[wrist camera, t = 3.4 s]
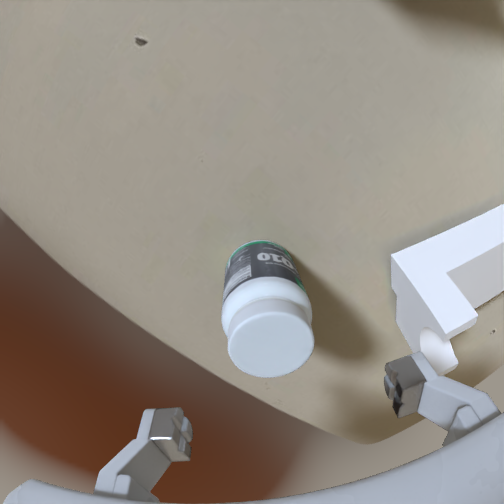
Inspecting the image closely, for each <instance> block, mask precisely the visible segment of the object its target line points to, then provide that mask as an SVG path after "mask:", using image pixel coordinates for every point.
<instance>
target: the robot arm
mask: <svg viewBox="0 0 504 504" xmlns="http://www.w3.org/2000/svg"><path fill="white" fill-rule="evenodd" d="M385 371H386V373H387V375H386V376H385V377H384V386H385V391H386V394H387V396H388V398H389V399H391V400H393V406H392V407H393V409H394V411H395V413H396V415H397V417H398V418H401V417H404V416H406V415H409V414H412V413H414V412H417V413H419V414H421V415H422V416H424V417H425V418H427V419H429V420H430V421H432V422H433V423H435V424H437V425H438V426H440V427H442V428H443V429H445V430H447V431H448V434H447V436H446V438H445V440H444V442H443V444H442V445H443V447H442V448H440V449H438V450H436V451H434V452H432V453H430V454H427V455H425V456H423V457H420V458H418V459H416V460H413V461H411V462H409V463H406V464H404V465H401V466H398V467H396V468H393V469H390V470H388V471H385V472H382V473H379V474H376V475H373V476H370V477H367V478H364V479H360V480H357V481H354V482H350V483H347V484H343V485H339V486H335V487H331V488H327V489H323V490H318V491H314V492H309V493H304V494H299V495H293V496H287V497H281V498H274V499H266V500H257V501H248V502H235V503H218V504H504V412H503V413H502V414H501V412H500V411H499V410H498V408H497V406H496V405H495V404H494V402H493V401H492V399H491V398H490V397H489V395H488V394H487V393H485V392H483V391H480V390H478V389H475V388H473V387H470V386H467V385H465V384H462V383H460V382H457V381H455V380H452V379H450V378H448V377H445V376H443V375H442V376H438V374H437V373H436V371H435V370H434V368H433V367H432V365H431V364H430V363H429V361H428V360H427V358H426V357H425V356H424V354H423V353H422V352H421V351H418V352H416V353H413V354H410V355H407V356H404V357H402V358H399V359H396V360H394V361H391V362H388V363H386V365H385ZM183 415H184V412H183V411H182V409H181V408H179V407H178V408H158V409H146V410H145V411H144V412H143V416H142V419H141V423H140V427H139V430H138V435H137V438H136V439H133V440H132V441H131V442H130V443H129V444H128V445H127V446H126V447H125V448H124V449H123V450H122V451H121V452H119V453H118V454H117V455H116V457H114V458H113V459H112V460H111V461H110V462H109V463H108V464H107V465H106V466H105V467H104V468H103V469H101V470H100V472H99V475H98V479H97V482H96V486H95V489H94V493H93V494H90V493H85V492H80V491H76V490H72V489H68V488H64V487H59V486H56V485H53V484H49V483H46V482H42V481H39V480H36V479H30V480H28V481H26V482H25V483H23V484H21V485H20V486H19V487H17V488H16V489H15V490H13V491H12V492H10V494H9V495H8V496H7V498H6V499H5V501H4V503H3V504H175V503H159V500H158V498H156V497H155V496H154V495H152V494H151V493H150V491H151V489H152V488H153V486H154V485H155V484H156V483H157V481H158V480H159V479H160V477H161V476H162V475H163V473H164V472H165V470H166V469H167V468H168V467H169V465H170V464H171V462H173V461H190V456H191V447H190V445H189V442H190V441H191V440H192V438H193V431H192V426H191V423H190V421H189V419H188V418H186V417H184V416H183Z"/></svg>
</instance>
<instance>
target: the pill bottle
mask: <svg viewBox="0 0 504 504" xmlns="http://www.w3.org/2000/svg"><path fill="white" fill-rule="evenodd" d="M221 318H222V326H223V329H224V332H225V334H226V336H227V337H228V352H229V355H230V358H231V360H232V361H233V363H234V364H235V365H236V366H237V367H238V368H239V369H240V370H242V371H243V372H245V373H247V374H249V375H252V376H256V377H263V378H272V377H279V376H284V375H287V374H289V373H292V372H294V371H295V370H297V369H299V368H300V367H301V366H302V365H303V364H304V363H305V362H306V361H307V360H308V359H309V357H310V356H311V354H312V351H313V348H314V334H313V331H312V327H311V321H312V308H311V304H310V301H309V298H308V296H307V293H306V291H305V289H304V286H303V284H302V281H301V279H300V277H299V274H298V272H297V269H296V267H295V264H294V262H293V260H292V258H291V256H290V255H289V253H288V252H287V251H286V250H285V249H284V248H283V247H282V246H280V245H278V244H276V243H274V242H271V241H267V240H256V241H251V242H248V243H246V244H244V245H242V246H240V247H239V248H238V249H236V250H235V251H234V252H233V254H232V255H231V257H230V258H229V260H228V263H227V266H226V271H225V283H224V294H223V306H222V317H221Z"/></svg>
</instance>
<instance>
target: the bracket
mask: <svg viewBox="0 0 504 504" xmlns="http://www.w3.org/2000/svg"><path fill="white" fill-rule="evenodd" d="M391 283H392V289H393V290H394V292H395V294H396V295H397V303H396V323H397V324H398V326H399V328H400V330H401V332H402V333H403V335H404V337H405V339H406V341H407V342H408V344H409V346H410V348H411V350H412V352H413V353H416V352H418V351H421V352H422V353H423V354H424V356H425V357H426V358H427V360H428V361H429V363H430V364H431V365H432V367H433V368H434V370H435V371H436V373H437V374H438V376H442V375H445V374H447V373H448V372H450V371H452V370H454V369H455V368H456V367H457V365H458V361H457V359H456V357H455V355H454V352H453V349H452V346H451V343H450V338H452V337H454V336H456V335H457V334H459V333H461V332H463V331H464V330H466V329H468V328H469V327H471V326H473V325H474V324H475V323H476V320H477V317H478V314H477V313H476V311H475V310H474V309H475V308H477V307H479V306H480V305H482V304H483V303H485V302H487V301H488V300H490V299H492V298H493V297H495V296H496V295H498V294H499V293H501V292H502V291H504V204H502V205H500V206H498V207H496V208H494V209H492V210H490V211H488V212H486V213H484V214H482V215H480V216H477V217H475V218H473V219H471V220H469V221H467V222H465V223H462V224H460V225H458V226H456V227H454V228H451V229H449V230H447V231H445V232H443V233H440V234H438V235H436V236H434V237H431V238H429V239H427V240H424V241H422V242H420V243H417V244H415V245H413V246H410V247H408V248H406V249H403V250H401V251H399V252H396V253H394V254H391Z"/></svg>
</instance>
